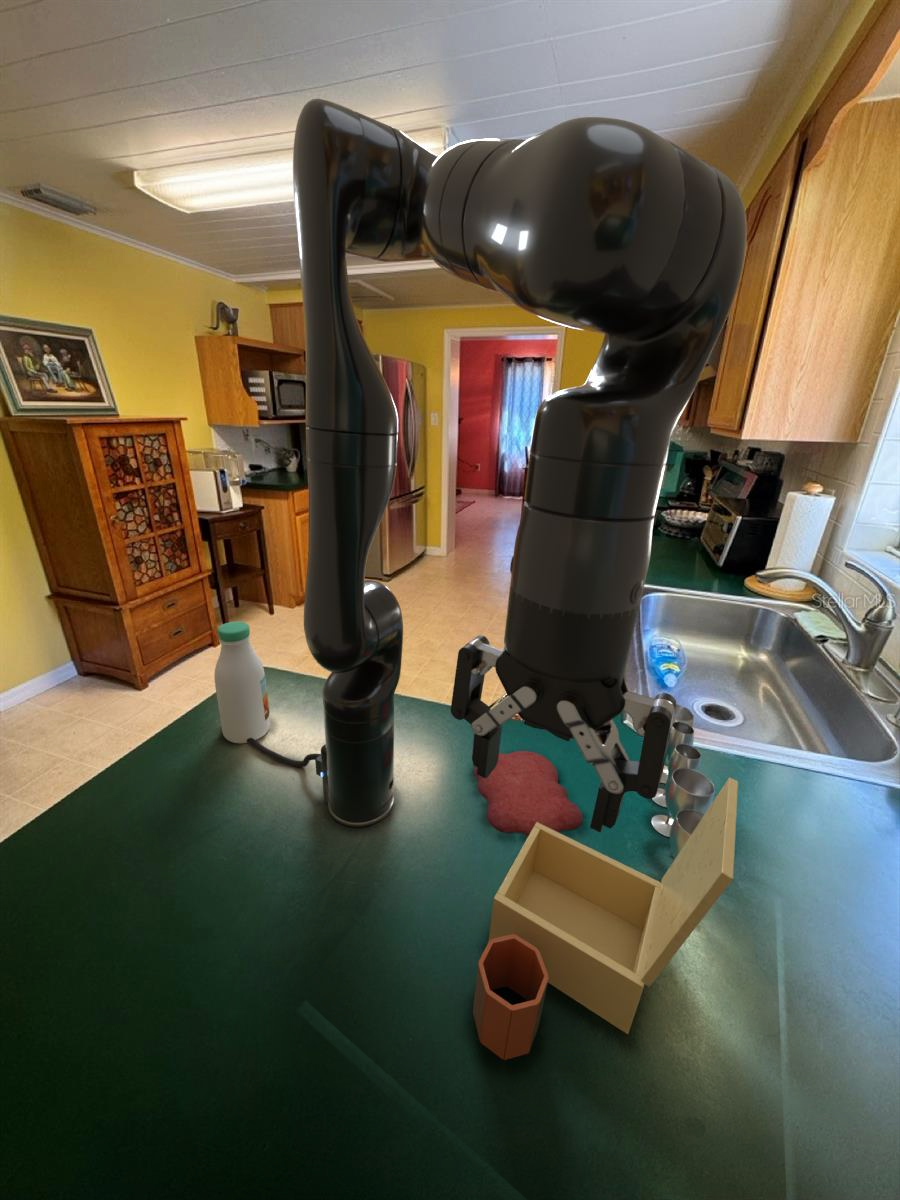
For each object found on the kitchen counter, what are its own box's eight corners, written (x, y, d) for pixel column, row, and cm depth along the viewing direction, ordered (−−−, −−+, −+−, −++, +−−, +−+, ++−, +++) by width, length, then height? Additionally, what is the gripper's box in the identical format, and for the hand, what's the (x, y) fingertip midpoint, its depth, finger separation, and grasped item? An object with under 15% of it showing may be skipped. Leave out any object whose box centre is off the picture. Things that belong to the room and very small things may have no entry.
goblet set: (701, 924, 54) (733, 839, 49) (648, 906, 56) (674, 823, 51) (677, 766, 79) (697, 699, 74) (641, 757, 81) (658, 691, 76)
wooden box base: (487, 947, 51) (493, 898, 48) (529, 867, 60) (536, 821, 57) (626, 1039, 44) (643, 987, 41) (649, 932, 53) (664, 884, 50)
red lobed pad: (591, 835, 65) (593, 825, 64) (494, 848, 62) (495, 836, 62) (544, 751, 81) (546, 741, 80) (466, 758, 78) (467, 748, 77)
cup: (463, 1034, 44) (468, 980, 41) (491, 975, 48) (498, 923, 45) (520, 1078, 41) (531, 1024, 38) (544, 1012, 45) (555, 959, 42)
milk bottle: (260, 745, 78) (247, 638, 71) (214, 743, 78) (196, 636, 71) (277, 717, 86) (266, 617, 78) (234, 715, 86) (220, 615, 78)
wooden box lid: (721, 872, 34) (733, 879, 34) (729, 776, 43) (738, 781, 43) (640, 981, 41) (649, 987, 41) (661, 878, 50) (669, 883, 50)
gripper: (713, 594, 27) (652, 806, 33) (495, 547, 34) (477, 731, 40) (701, 640, 21) (629, 888, 27) (439, 573, 28) (428, 784, 34)
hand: (539, 794), depth 34 cm, fingers open, 8 cm apart
